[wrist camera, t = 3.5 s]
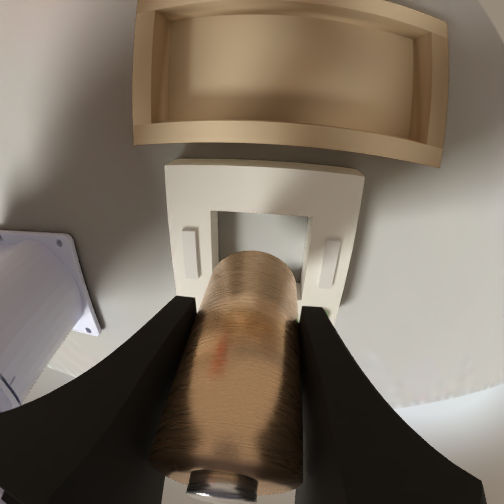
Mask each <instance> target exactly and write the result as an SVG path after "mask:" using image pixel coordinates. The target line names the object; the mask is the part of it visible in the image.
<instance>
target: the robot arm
mask: <svg viewBox="0 0 504 504" xmlns="http://www.w3.org/2000/svg"><path fill="white" fill-rule="evenodd" d="M61 242H62V243H61ZM196 315H197V309H196V300H195V297H185V296H176V297H174V298H173V299H172V300H171V301H170V302H169V303H168V304H167V305H166V306H164V307H163V308H162V309H161V310H160V311H159V312H158V313H157V314H156V315H155V316H154V317H153V318H152V319H151V320H149V321H148V322H147V323H146V324H145V325H144V326H143V327H142V328H141V329H139V330H138V331H137V332H136V333H135V334H134V335H133V336H132V337H131V338H129V339H128V340H127V341H126V342H125V343H123V344H122V345H121V346H120V347H118V348H117V349H116V350H115V351H114V352H112V353H111V354H110V355H109V356H107V357H106V358H105V359H103V360H102V361H101V362H99V363H98V364H97V365H95V366H94V367H92V368H91V369H89V370H88V371H86V372H85V373H83V374H82V375H80V376H79V377H77V378H75V379H74V380H72V381H70V382H68V383H67V384H65V385H63V386H61V387H59V388H58V389H56V390H54V391H52V392H50V393H49V394H46V395H44V396H42V397H40V398H38V399H36V400H34V401H31V402H29V403H26V404H24V405H22V403H23V402H24V400H25V399H26V397H27V395H28V394H29V392H30V390H31V389H32V387H33V386H34V384H35V383H36V381H37V379H38V378H39V376H40V375H41V373H42V372H43V370H44V369H45V367H46V366H47V364H48V363H49V361H50V360H51V358H52V357H53V355H54V354H55V353H56V351H57V350H58V348H59V347H60V345H61V344H62V343H63V341H64V340H65V338H66V337H67V336H68V334H69V333H70V332H71V330H74V331H78V332H81V333H85V334H89V335H93V336H99V335H100V334H101V328H100V325H99V323H98V320H97V317H96V315H95V312H94V309H93V306H92V303H91V300H90V297H89V294H88V291H87V288H86V285H85V281H84V278H83V275H82V271H81V268H80V264H79V260H78V257H77V253H76V249H75V245H74V241H73V238H72V237H71V236H70V235H69V234H64V233H46V232H27V231H8V230H0V504H161V501H162V493H163V486H164V480H165V475H163V474H161V473H160V472H158V471H157V470H155V469H154V468H153V467H152V466H151V465H150V464H149V462H148V458H149V454H150V451H151V448H152V445H153V442H154V438H155V435H156V432H157V429H158V426H159V423H160V420H161V417H162V414H163V411H164V407H165V404H166V401H167V398H168V395H169V392H170V389H171V387H172V384H173V381H174V378H175V375H176V372H177V369H178V366H179V363H180V360H181V357H182V355H183V352H184V349H185V346H186V343H187V340H188V338H189V335H190V332H191V329H192V326H193V324H194V321H195V318H196ZM299 336H300V354H301V377H302V407H303V483H302V485H301V486H299V487H298V488H296V495H295V504H487V503H486V498H485V493H484V488H483V485H482V481H481V480H479V479H477V478H476V477H474V476H473V475H471V474H469V473H468V472H466V471H465V470H463V469H461V468H460V467H458V466H456V465H455V464H453V463H452V462H451V461H449V460H448V459H447V458H446V457H444V456H443V455H442V454H440V453H439V452H438V451H436V450H435V449H434V448H433V447H432V446H430V445H429V444H428V443H427V442H426V441H425V440H424V439H423V438H422V437H421V436H419V435H418V434H417V433H416V432H415V431H414V430H413V429H412V428H411V427H410V426H409V425H408V424H407V423H406V422H405V421H404V420H403V419H402V418H401V417H400V416H399V415H398V414H397V413H396V412H395V411H394V410H393V409H392V407H391V406H390V405H389V404H388V403H387V402H386V401H385V399H384V398H383V397H382V396H381V395H380V393H379V392H378V391H377V390H376V388H375V387H374V386H373V385H372V383H371V382H370V381H369V379H368V378H367V377H366V375H365V374H364V372H363V371H362V370H361V368H360V367H359V365H358V364H357V363H356V361H355V360H354V358H353V356H352V355H351V353H350V352H349V350H348V349H347V347H346V346H345V344H344V343H343V341H342V339H341V338H340V336H339V334H338V333H337V331H336V329H335V328H334V326H333V324H332V323H331V321H330V319H329V317H328V315H327V314H326V312H325V310H324V309H323V308H322V307H315V306H302V308H301V314H300V320H299ZM21 405H22V406H21Z"/></svg>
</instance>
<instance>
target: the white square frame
mask: <svg viewBox="0 0 504 504" xmlns="http://www.w3.org/2000/svg"><path fill="white" fill-rule="evenodd" d="M164 169H165V186H166V200H167V213H168V224H169V234H170V244H171V253H172V262H173V270H174V278H175V285H176V292H177V296H185V297H195V300H196V309H197V313H198V310H199V307H200V304H201V302H202V299H203V296H204V293H205V291H206V288H207V285H208V283H209V280H210V277H211V275H212V272H213V270H214V268H215V267H216V266H217V264H218V263H219V251H218V211H230V212H248V213H264V214H279V215H293V216H306V217H309V218H308V226H307V235H306V243H305V250H304V258H303V266H302V273H301V280H300V283H296V289H297V303H298V319H299V320H300V314H301V308H302V306H315V307H322V308H323V309H324V310H325V312H326V314H327V315H328V317H329V319H330V321H331V323H332V324H333V326H334V324H335V320H336V316H337V312H338V309H339V305H340V301H341V297H342V293H343V289H344V285H345V281H346V276H347V272H348V267H349V263H350V258H351V254H352V249H353V244H354V239H355V234H356V229H357V223H358V218H359V212H360V206H361V200H362V194H363V187H364V180H365V176H364V175H362V174H361V173H360V172H359V171H358V170H356V169H353V168H345V167H336V166H327V165H317V164H307V163H295V162H282V161H266V160H245V159H175V160H173V161H171V162H170V163H168V164H166V165H164Z"/></svg>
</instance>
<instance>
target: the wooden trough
mask: <svg viewBox="0 0 504 504" xmlns="http://www.w3.org/2000/svg"><path fill="white" fill-rule="evenodd" d="M448 84H449V51H448V31H447V22H444V21H442V20H440V19H437V18H435V17H432V16H430V15H427V14H425V13H422V12H419V11H416V10H414V9H411V8H408V7H405V6H402V5H398V4H395V3H392V2H388V1H385V0H138V4H137V13H136V23H135V35H134V50H133V77H132V115H133V143H134V145H143V144H161V143H190V142H231V143H261V144H278V145H292V146H304V147H315V148H324V149H333V150H341V151H349V152H356V153H363V154H370V155H376V156H382V157H388V158H393V159H399V160H404V161H409V162H414V163H419V164H423V165H428V166H432V167H437V168H440V165H441V158H442V152H443V145H444V137H445V128H446V117H447V104H448Z"/></svg>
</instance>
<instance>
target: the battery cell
mask: <svg viewBox="0 0 504 504" xmlns="http://www.w3.org/2000/svg"><path fill="white" fill-rule="evenodd" d="M148 462H149V464H150V465H151V466H152V467H153V468H154V469H155V470H157V471H158V472H160V473H161V474H163V475H165V476H167V477H169V478H171V479H173V480H175V481H178V482H180V483H183V484H186V485H188V488H187V492H186V494H187V495H189V496H191V497H193V498H196V499H198V500H202V501H206V502H210V503H215V504H256V502H257V495H271V494H278V493H283V492H287V491H290V490H293V489H296V488H298V487H299V486H301V485H302V483H303V407H302V377H301V354H300V336H299V319H298V303H297V289H296V281H295V278H294V275H293V273H292V272H291V270H290V269H289V267H288V266H287V265H286V264H285V263H284V262H283V261H281V260H280V259H278V258H277V257H275V256H273V255H270V254H268V253H264V252H260V251H241V252H237V253H234V254H231V255H229V256H227V257H226V258H224V259H223V260H221V261H220V262H219V263H218V264H217V266H216V267H215V268H214V270H213V272H212V275H211V277H210V280H209V283H208V285H207V288H206V291H205V293H204V296H203V299H202V302H201V304H200V307H199V310H198V313H197V315H196V318H195V321H194V324H193V326H192V329H191V332H190V335H189V338H188V340H187V343H186V346H185V349H184V352H183V355H182V357H181V360H180V363H179V366H178V369H177V372H176V375H175V378H174V381H173V384H172V387H171V389H170V392H169V395H168V398H167V401H166V404H165V407H164V411H163V414H162V417H161V420H160V423H159V426H158V429H157V432H156V435H155V438H154V442H153V445H152V448H151V451H150V454H149V458H148Z"/></svg>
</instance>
